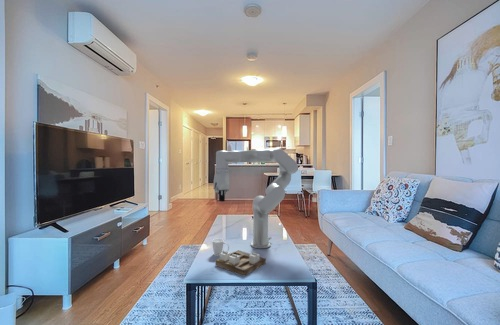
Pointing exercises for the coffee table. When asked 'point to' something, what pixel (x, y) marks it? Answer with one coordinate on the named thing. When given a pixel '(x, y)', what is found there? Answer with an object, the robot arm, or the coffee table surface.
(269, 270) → the coffee table surface
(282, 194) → the robot arm
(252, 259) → the tab
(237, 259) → the tab middle
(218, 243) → the cup
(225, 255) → the tab
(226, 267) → the switch board
